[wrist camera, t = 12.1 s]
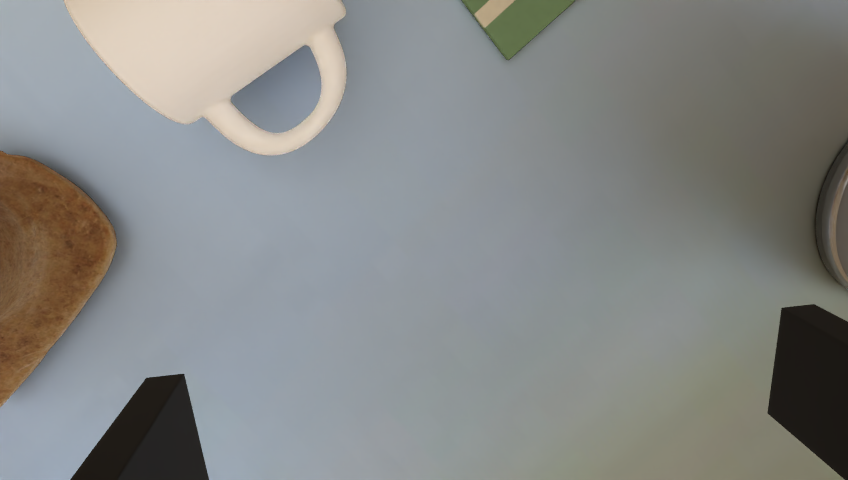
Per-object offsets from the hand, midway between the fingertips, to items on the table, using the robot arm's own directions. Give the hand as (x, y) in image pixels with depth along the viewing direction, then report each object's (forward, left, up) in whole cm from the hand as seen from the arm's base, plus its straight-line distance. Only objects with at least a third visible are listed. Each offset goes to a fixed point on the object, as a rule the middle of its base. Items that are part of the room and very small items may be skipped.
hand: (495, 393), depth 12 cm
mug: (+8, -9, -23) cm, 26 cm away
